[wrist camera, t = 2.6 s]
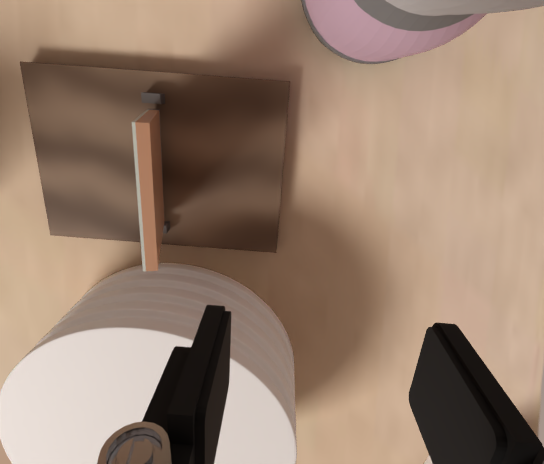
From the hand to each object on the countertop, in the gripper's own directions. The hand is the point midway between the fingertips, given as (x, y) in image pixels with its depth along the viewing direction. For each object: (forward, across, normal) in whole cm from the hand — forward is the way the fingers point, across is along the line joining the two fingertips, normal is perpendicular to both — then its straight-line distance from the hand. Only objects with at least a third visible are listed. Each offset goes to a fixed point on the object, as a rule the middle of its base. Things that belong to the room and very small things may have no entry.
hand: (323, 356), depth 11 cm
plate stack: (+26, +12, +25) cm, 38 cm away
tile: (+19, +11, 0) cm, 22 cm away
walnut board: (+26, +13, 0) cm, 29 cm away
